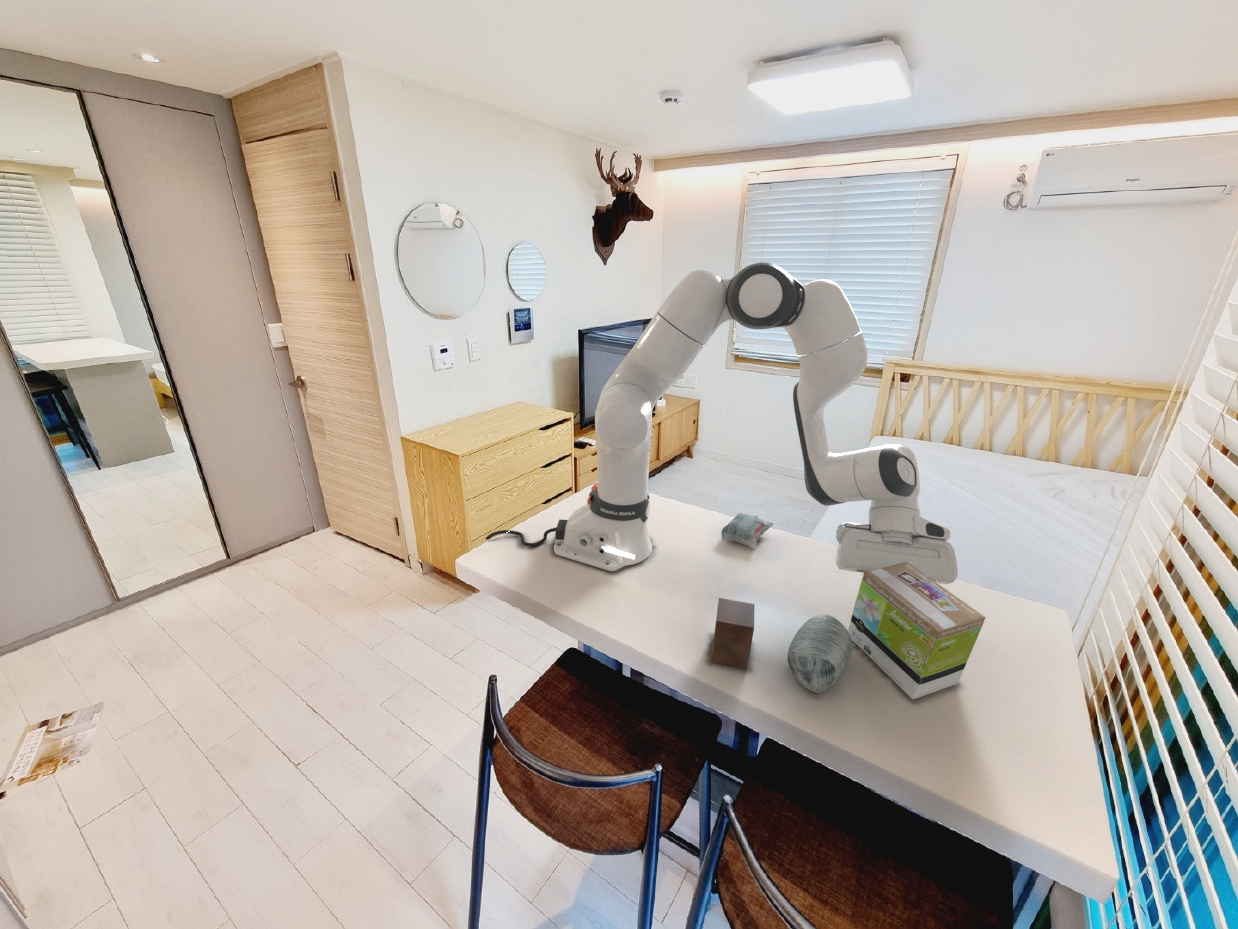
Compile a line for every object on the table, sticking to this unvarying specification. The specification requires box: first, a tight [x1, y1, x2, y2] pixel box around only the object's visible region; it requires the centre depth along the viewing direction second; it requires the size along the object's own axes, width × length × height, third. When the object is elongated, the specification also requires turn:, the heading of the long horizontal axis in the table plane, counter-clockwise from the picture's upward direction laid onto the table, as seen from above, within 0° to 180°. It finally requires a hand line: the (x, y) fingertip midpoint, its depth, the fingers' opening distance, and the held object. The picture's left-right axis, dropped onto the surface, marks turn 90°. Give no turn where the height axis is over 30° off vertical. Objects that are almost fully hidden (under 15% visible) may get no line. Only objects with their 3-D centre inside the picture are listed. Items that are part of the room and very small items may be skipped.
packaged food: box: [721, 512, 774, 550], centre depth 119 cm, size 9×12×5 cm
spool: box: [786, 613, 854, 694], centre depth 83 cm, size 14×10×10 cm
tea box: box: [847, 562, 987, 700], centre depth 83 cm, size 15×10×15 cm, turn 20°
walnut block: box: [710, 597, 755, 670], centre depth 85 cm, size 6×6×9 cm
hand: (894, 601), depth 92 cm, fingers closed
